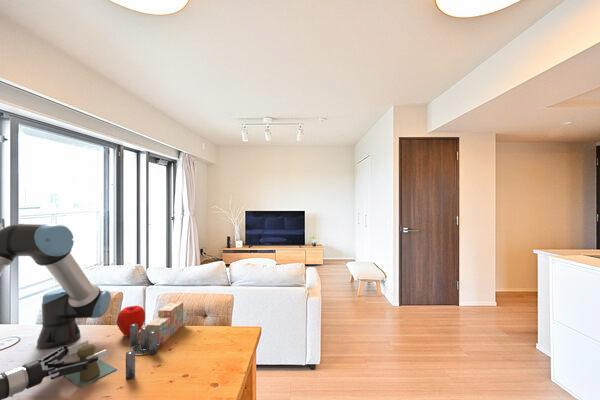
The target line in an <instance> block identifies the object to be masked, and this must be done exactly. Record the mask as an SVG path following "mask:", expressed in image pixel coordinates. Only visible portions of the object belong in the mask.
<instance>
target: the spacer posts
mask: <svg viewBox="0 0 600 400" xmlns="http://www.w3.org/2000/svg"><path fill="white" fill-rule="evenodd" d="M136 345H137V346H138V345H139V332H138V324H137V323H135V324H131V325H130V336H129V347H130V348H133V347H134V346H135V347H137V346H136ZM147 348H148V349H147ZM141 349H142V350H143V349H147V350H148V355H149V356H156V355H157V354H158V346H157V331H151V332H149V345H148V327H147V326H142V327H141V329H140V350H141ZM142 350H141V351H142ZM135 377H136V351H135V350H128V351H126V352H125V380H126V381H130V380H133V379H135Z"/></svg>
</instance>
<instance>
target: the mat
mask: <svg viewBox="0 0 600 400" xmlns="http://www.w3.org/2000/svg"><path fill="white" fill-rule="evenodd" d="M97 364H98V366H99V369H100V373H99V374H98V375H97V376H96V377H94V378H92V379H90V380H87V381H80V372H76V373H72V374H69V375H65V376H63V377H64V378H65V379H67V380H68V381H70V382H72V383H73V384H74V385H75V386H77V387H79V388H82V387H84V386H87V385H89V384H91V383H93V382H95V381H97V380H99V379H101V378H103V377H106V376H107V375H109V374H111V373H113V372H116V371H117V370H118V369H117V368H116V367H114V366H112V365H110V363H108V362H105V361H103V360H102V359H101V360H99V361H97Z"/></svg>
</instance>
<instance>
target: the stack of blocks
mask: <svg viewBox="0 0 600 400" xmlns="http://www.w3.org/2000/svg"><path fill="white" fill-rule="evenodd" d="M157 314H158V316H157V317H155V318H154V319H153V320H152V321H150V322H149V323H147V324H146V327H148V344H149V332H151V331H157V344H160V343H162V344H163V343H164V342H166V341H167V340H168V339H169V338H170V337H171V336H172V335H174V334H175V333H176V332H177V331H178V330H179V329H180V328H179V327H181V328H182V327H183V326H184V301H171V302H169V303H167V304H165V305H164V306H162V307H161V308H159V309H158V313H157ZM178 328H179V329H178ZM177 329H178V330H177ZM176 330H177V331H176ZM175 331H176V332H175ZM174 332H175V333H174Z"/></svg>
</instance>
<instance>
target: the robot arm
mask: <svg viewBox="0 0 600 400" xmlns="http://www.w3.org/2000/svg"><path fill="white" fill-rule="evenodd" d="M73 239H74V235H73V232H72V231H71V229H70V228H68V227H67V226H65V225H64V224H59V223H57V224H56V223H51V222H50V223H49V222H48V223H15V224H12V225H11V224H10V225H7V226H6V227H3V228H1V229H0V277H1V276H2V274H3V272H4V271H5V269H6V267H8V266H11V265H12V263H13V262H14V259H16V258H17V257H30V258H31V259H32V260H33V261H34V262H35V264H37V265H38V266H41V267H42V266H43V267H46V269H47V270H48V271H49V273H50V274H51V275H52V276H53V278H54V279H55V280H56V281H57V283H58V284H59V286H61V288H58V289H55V290H51V291H49V292H46V293H45V294H44V295H43V296H42V302H41V309H42V310H41V313H42V314H41V316H42V319H41V320H42V323H41V324H42V327H41V330H40V332H39V335H38V338H37V341H36V343H37V344H36V346H37V348H38V349H41V350H47V349H48V350H50V349H55V350H53V351H52V352H49V353H48V354H46V355H45V356H43V357H40V358H39V359H35V360H34V361H31V362H28V363H26V364H23V366H17V367H15V368H12V369H9V370H6V371H4V372H0V400H6V399H7V398H12V397H14V396H15V395H17V394H19V393H21V392H23V391H25V390H29V389H31V388H33V387H36V386H38V385H40V384H41V383H42V382H43V380H44V379H45V378H47V377H50V380H51V381H52V380H56V379H57V378H60V377H64V376H65V375H69V374H72V373H76V372H80V371H84V370H87V369H88V365H90V364H92V363H94V362H97V361H99V360H101V361H102V359H105V358H107V357H108V350H107V349H103V350H101V351H98V352H96V353H94V354H93V355H91V356H88V357H86V359H83V360H80V359H76V360H70V361H64V360H63V359H64V358H65V357H66V356H67V355H68V356H70V355H71V356H72V355H73V354H77V351H78V349H79V348H81V347H82V346H84V345H87V344H90V343H89V340H84V341H82V342H79V343H76V344H73V345H70V344H72V343H74V342H76V341H78V340H79V339H80V337H81V330H80V328H79V325H78V323H77V320H76V319H96V318H101V317H103V316H105V315H106V313H107V312H108V309H109V308H110V306H111V300H112V296H111V293H110V291H109V290H101V289H100V288H99V286H98V285H97V284H95V283H91V282H90V280H89V279H88V277H87V276H86V274H85V272H84V271H83V270H82V267H80V265H79V264H78V262H77V261H76V259H75V258H74V256H73V255H72V253H71V252H72V249H73V246H74V242H75V240H73ZM68 345H70V346H68Z"/></svg>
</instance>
